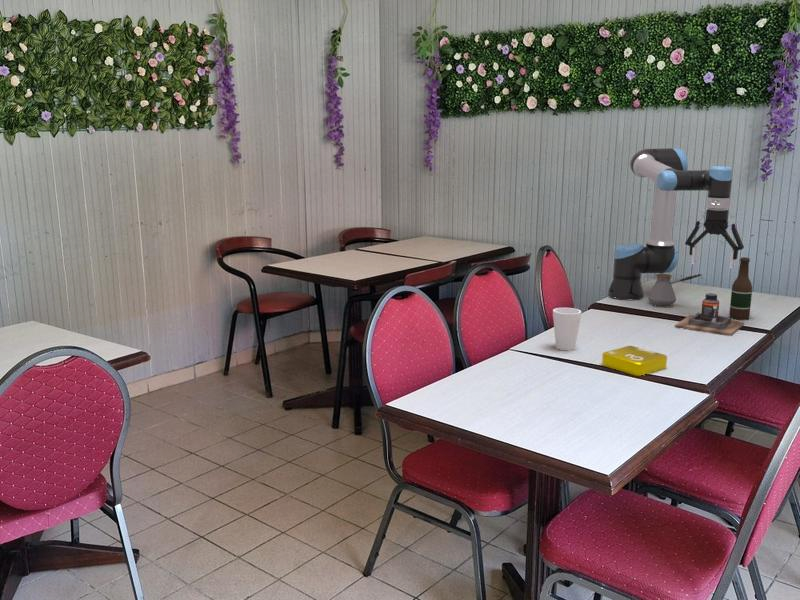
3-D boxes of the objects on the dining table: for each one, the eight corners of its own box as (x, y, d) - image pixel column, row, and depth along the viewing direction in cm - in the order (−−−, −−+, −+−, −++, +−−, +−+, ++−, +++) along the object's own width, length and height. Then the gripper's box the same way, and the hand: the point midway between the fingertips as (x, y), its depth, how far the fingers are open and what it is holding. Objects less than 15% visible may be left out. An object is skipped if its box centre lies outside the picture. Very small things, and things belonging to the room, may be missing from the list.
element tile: (668, 368, 235) (670, 354, 233) (639, 378, 226) (640, 362, 225) (628, 357, 246) (629, 343, 245) (599, 365, 238) (600, 351, 237)
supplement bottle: (718, 325, 280) (721, 296, 278) (701, 324, 281) (704, 295, 279) (715, 322, 286) (718, 292, 283) (699, 321, 287) (701, 292, 285)
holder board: (674, 327, 282) (675, 319, 281) (689, 317, 297) (690, 309, 297) (731, 336, 270) (732, 327, 269) (744, 324, 286) (744, 317, 285)
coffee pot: (643, 305, 317) (645, 270, 314) (652, 300, 326) (654, 266, 323) (695, 312, 305) (698, 276, 301) (703, 307, 314) (706, 272, 310)
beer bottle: (753, 320, 292) (759, 259, 287) (733, 320, 292) (739, 259, 287) (744, 315, 300) (750, 256, 294) (725, 315, 300) (730, 256, 294)
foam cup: (579, 352, 250) (581, 314, 247) (551, 351, 252) (553, 313, 249) (578, 344, 259) (580, 308, 256) (551, 343, 261) (553, 307, 258)
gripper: (679, 207, 280) (675, 263, 285) (751, 212, 265) (745, 271, 270) (685, 206, 286) (680, 260, 291) (756, 210, 271) (750, 268, 276)
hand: (712, 266), depth 280 cm, fingers open, 13 cm apart
